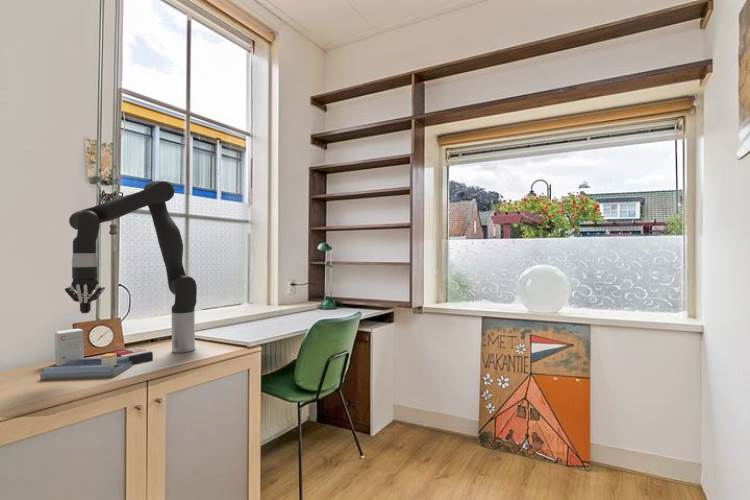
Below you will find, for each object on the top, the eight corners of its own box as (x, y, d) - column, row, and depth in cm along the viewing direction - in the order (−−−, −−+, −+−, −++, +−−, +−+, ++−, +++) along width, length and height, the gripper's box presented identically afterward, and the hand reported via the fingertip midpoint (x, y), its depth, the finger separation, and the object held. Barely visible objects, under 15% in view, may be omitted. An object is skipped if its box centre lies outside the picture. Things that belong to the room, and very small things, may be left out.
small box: (79, 359, 163) (79, 327, 163) (84, 362, 159) (83, 330, 159) (54, 364, 157) (54, 331, 157) (58, 367, 153) (58, 333, 153)
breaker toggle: (106, 364, 148) (106, 353, 148) (117, 364, 149) (116, 353, 149) (101, 367, 145) (101, 356, 145) (111, 367, 145) (111, 355, 145)
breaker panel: (65, 368, 151) (65, 358, 151) (132, 366, 154) (132, 356, 154) (40, 380, 138) (40, 369, 138) (114, 377, 141) (113, 366, 141)
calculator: (138, 346, 172) (152, 350, 162) (138, 356, 172) (153, 360, 162) (109, 351, 163) (122, 355, 154) (109, 362, 163) (123, 367, 154)
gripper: (109, 265, 150) (110, 311, 150) (72, 265, 149) (72, 311, 149) (98, 266, 143) (98, 314, 143) (58, 266, 141) (58, 315, 141)
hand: (85, 312), depth 146 cm, fingers closed
